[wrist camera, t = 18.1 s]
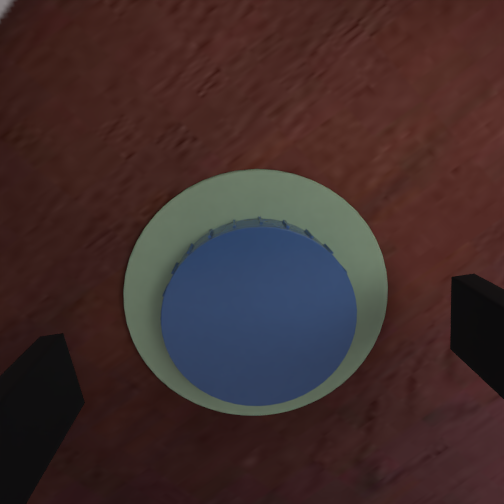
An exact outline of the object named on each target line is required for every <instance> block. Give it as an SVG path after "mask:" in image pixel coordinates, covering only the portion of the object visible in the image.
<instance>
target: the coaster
mask: <svg viewBox="0 0 504 504" xmlns="http://www.w3.org/2000/svg"><path fill="white" fill-rule="evenodd" d="M258 216H261V218H263V219H274V220H278V221H283V220H286V221H287V223H289V224H292V225H295V226H297V227H299V228H301V229H303V230H306V229H307V230H309V232H310V233H311V234H312V235H313V236H314V237H315V238H317V239H318V240H319V241H320V242H321V243H322V244H323V245H324V244H326V245H327V246H328V247H329V248H330V249H331V250H332V251H333V252H334V253H333V254H332V255H333V256H334V257H335V258H336V259H337V261H338V262H339V263H340V264H341V265H342V266H343V267H344V269H345V270H346V271H347V275H348V277H349V280H350V282H351V284H352V287H353V290H354V293H355V298H356V305H357V323H356V329H355V334H354V337H353V340H352V344H351V346H350V348H349V350H348V352H347V355H346V356H345V358H344V359H343V361H342V362H341V364H340V365H339V367H338V368H337V369H336V370H335V371H334V373H333V374H332V375H331V376H330V377H329V378H328V379H326V380H325V381H324V382H323V383H322V384H320V385H319V386H318V387H316V388H315V389H313V390H312V391H310V392H308V393H306V394H305V395H303V396H300V397H298V398H296V399H293V400H290V401H287V402H284V403H279V404H274V405H266V406H245V405H238V404H233V403H229V402H225V401H222V400H220V399H217V398H215V397H212V396H210V395H208V394H207V393H205V392H203V391H201V390H200V389H198V388H197V387H196V386H194V385H193V384H192V383H191V382H190V381H188V380H187V379H186V378H185V377H184V376H183V375H182V373H181V372H180V371H179V370H178V369H177V367H176V366H175V364H174V363H173V361H172V359H171V358H170V356H169V353H168V351H167V349H166V347H165V343H164V340H163V336H162V330H161V320H160V318H161V308H162V301H163V297H162V295H163V293H164V290H165V288H166V286H167V284H169V282H170V279H171V277H172V275H173V274H171V272H172V270H173V268H174V266H175V264H176V262H178V263H179V261H180V260H181V258H182V257H183V255H184V254H185V253H186V252H187V250H188V248H189V246H190V244H191V243H192V244H194V243H195V242H196V241H198V240H199V239H200V238H201V237H203V236H204V235H206V234H207V233H209V230H210V229H212V230H214V229H216V228H218V227H220V226H222V225H225V224H228V223H231V222H233V220H235V219H236V221H239V220H244V219H255V218H258ZM387 292H388V283H387V274H386V267H385V264H384V260H383V256H382V253H381V250H380V248H379V245H378V243H377V240H376V238H375V236H374V235H373V233H372V231H371V230H370V228H369V226H368V225H367V223H366V222H365V221H364V220H363V218H362V217H361V216H360V215H359V213H358V212H357V211H356V210H355V209H354V208H353V207H352V206H351V205H350V204H349V203H347V202H346V201H345V200H344V199H343V198H342V197H340V196H339V195H337V194H336V193H334V192H333V191H332V190H330V189H329V188H327V187H325V186H323V185H321V184H319V183H317V182H315V181H313V180H310V179H308V178H305V177H302V176H299V175H296V174H293V173H288V172H283V171H278V170H266V169H249V170H238V171H233V172H228V173H223V174H219V175H216V176H214V177H211V178H208V179H205V180H203V181H201V182H199V183H197V184H195V185H193V186H191V187H189V188H187V189H186V190H184V191H183V192H181V193H180V194H178V195H177V196H176V197H174V198H173V199H171V200H170V201H169V202H168V203H167V204H166V205H165V206H164V207H163V208H162V209H161V210H159V211H158V212H157V213H156V215H155V216H154V217H153V218H152V219H151V221H150V222H149V223H148V224H147V226H146V227H145V228H144V230H143V232H142V233H141V235H140V237H139V238H138V240H137V242H136V244H135V246H134V249H133V251H132V253H131V256H130V258H129V262H128V266H127V270H126V274H125V281H124V290H123V294H124V310H125V316H126V322H127V325H128V328H129V331H130V334H131V337H132V340H133V342H134V344H135V346H136V348H137V350H138V352H139V354H140V355H141V357H142V358H143V360H144V361H145V363H146V364H147V366H148V367H149V368H150V369H151V370H152V372H153V373H154V374H155V375H156V376H157V377H158V378H159V379H160V380H161V381H162V382H163V383H165V384H166V385H167V386H168V387H169V388H170V389H172V390H173V391H175V392H176V393H178V394H179V395H181V396H182V397H184V398H186V399H188V400H190V401H192V402H194V403H196V404H198V405H201V406H203V407H206V408H209V409H211V410H215V411H219V412H223V413H228V414H236V415H253V416H259V415H270V414H277V413H281V412H286V411H290V410H293V409H297V408H300V407H303V406H305V405H307V404H310V403H312V402H314V401H316V400H318V399H320V398H322V397H323V396H325V395H327V394H329V393H330V392H332V391H333V390H334V389H336V388H337V387H338V386H340V385H341V384H342V383H344V382H345V381H346V380H347V379H348V378H349V377H350V376H351V375H352V374H353V373H354V372H355V371H356V370H357V369H358V367H359V366H360V365H361V364H362V363H363V361H364V360H365V359H366V357H367V355H368V354H369V352H370V351H371V349H372V348H373V346H374V344H375V341H376V339H377V337H378V335H379V333H380V330H381V327H382V324H383V321H384V317H385V312H386V306H387Z"/></svg>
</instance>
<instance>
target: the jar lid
mask: <svg viewBox="0 0 504 504" xmlns="http://www.w3.org/2000/svg"><path fill="white" fill-rule="evenodd" d="M333 253H334V252H333V251H332V250H331V249H330V248H329V247H328V246H327V245H326V244H324V245H323V244H322V243H321V242H320V241H319V240H318V239H317V238H315V237H314V236H313V235H312V234H311V233H310V232H309V230H307V229H306V230H303V229H301V228H299V227H297V226H295V225H292V224H289V223H287V221H286V220H283V221H278V220H274V219H263V218H261V216H258V218H255V219H244V220H239V221H236V219H235V220H233V222H231V223H228V224H225V225H222V226H220V227H218V228H216V229H214V230H212V229H210V230H209V233H207V234H206V235H204V236H203V237H201V238H200V239H199V240H198V241H196V242H195V243H194V244H192V243H191V244H190V246H189V248H188V250H187V252H186V253H185V254H184V255H183V257H182V258H181V260H180V261H179V263H178V262H176V264H175V266H174V268H173V270H172V272H171V274H173V275H172V277H171V279H170V282H169V284H167V286H166V288H165V290H164V293H163V295H162V297H163V301H162V308H161V318H160V320H161V330H162V336H163V340H164V343H165V347H166V349H167V351H168V353H169V356H170V358H171V359H172V361H173V363H174V364H175V366H176V367H177V369H178V370H179V371H180V372H181V373H182V375H183V376H184V377H185V378H186V379H187V380H188V381H190V382H191V383H192V384H193V385H194V386H196V387H197V388H198V389H200V390H201V391H203V392H205V393H207V394H208V395H210V396H212V397H215V398H217V399H220V400H222V401H225V402H229V403H233V404H238V405H245V406H266V405H274V404H279V403H284V402H287V401H290V400H293V399H296V398H298V397H300V396H303V395H305V394H306V393H308V392H310V391H312V390H313V389H315V388H316V387H318V386H319V385H320V384H322V383H323V382H324V381H325V380H326V379H328V378H329V377H330V376H331V375H332V374H333V373H334V371H335V370H336V369H337V368H338V367H339V365H340V364H341V362H342V361H343V359H344V358H345V356H346V355H347V352H348V350H349V348H350V346H351V344H352V340H353V337H354V334H355V329H356V323H357V305H356V298H355V293H354V290H353V287H352V284H351V282H350V280H349V277H348V275H347V271H346V270H345V269H344V267H343V266H342V265H341V264H340V263H339V262H338V261H337V259H336V258H335V257H334V256H333V255H332V254H333Z"/></svg>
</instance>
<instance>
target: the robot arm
mask: <svg viewBox="0 0 504 504" xmlns="http://www.w3.org/2000/svg"><path fill="white" fill-rule="evenodd" d="M450 349H451V350H452V351H453V352H454V353H455V354H456V355H457V356H458V357H459V358H461V359H462V360H463V361H464V362H465V363H466V364H467V365H468V366H469V367H470V368H471V369H472V370H473V371H474V372H475V373H477V374H478V375H479V376H480V377H481V378H482V379H483V380H484V381H485V382H486V383H487V384H488V385H489V386H490V387H491V388H493V389H494V390H495V391H496V392H497V393H498V394H499V395H500V396H501V397H502V398H503V399H504V289H502V288H500V287H498V286H496V285H494V284H493V283H491V282H489V281H487V280H485V279H483V278H481V277H479V276H477V275H476V274H469V275H462V276H455V277H452V286H451V344H450ZM84 403H85V402H84V399H83V395H82V392H81V389H80V386H79V382H78V379H77V376H76V373H75V370H74V366H73V363H72V360H71V357H70V354H69V350H68V347H67V344H66V341H65V337H64V334H63V333H62V334H55V335H48V336H41V337H39V338H38V339H37V340H36V341H35V342H34V343H33V344H32V345H31V346H30V347H29V348H28V349H27V350H26V351H25V352H24V353H23V354H22V355H21V356H20V357H19V358H18V359H17V360H16V361H15V362H14V363H13V364H12V365H11V366H10V367H9V368H8V369H7V370H6V371H5V372H4V373H3V374H2V375H1V376H0V504H26V503H27V501H28V499H29V498H30V496H31V494H32V492H33V491H34V489H35V487H36V486H37V484H38V482H39V480H40V479H41V477H42V475H43V474H44V472H45V470H46V468H47V467H48V465H49V463H50V462H51V460H52V458H53V456H54V455H55V453H56V451H57V449H58V448H59V446H60V444H61V443H62V441H63V439H64V437H65V436H66V434H67V432H68V431H69V429H70V427H71V425H72V424H73V422H74V420H75V419H76V417H77V415H78V413H79V412H80V410H81V408H82V407H83V405H84Z"/></svg>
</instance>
